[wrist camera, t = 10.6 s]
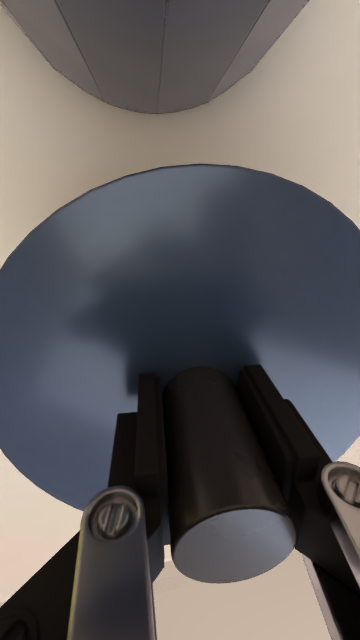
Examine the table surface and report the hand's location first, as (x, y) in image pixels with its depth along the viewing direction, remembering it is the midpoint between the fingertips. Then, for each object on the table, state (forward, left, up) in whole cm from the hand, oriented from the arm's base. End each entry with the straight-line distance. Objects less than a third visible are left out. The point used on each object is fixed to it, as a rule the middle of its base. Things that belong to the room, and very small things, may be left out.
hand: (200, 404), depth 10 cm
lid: (0, 0, -1) cm, 1 cm away
